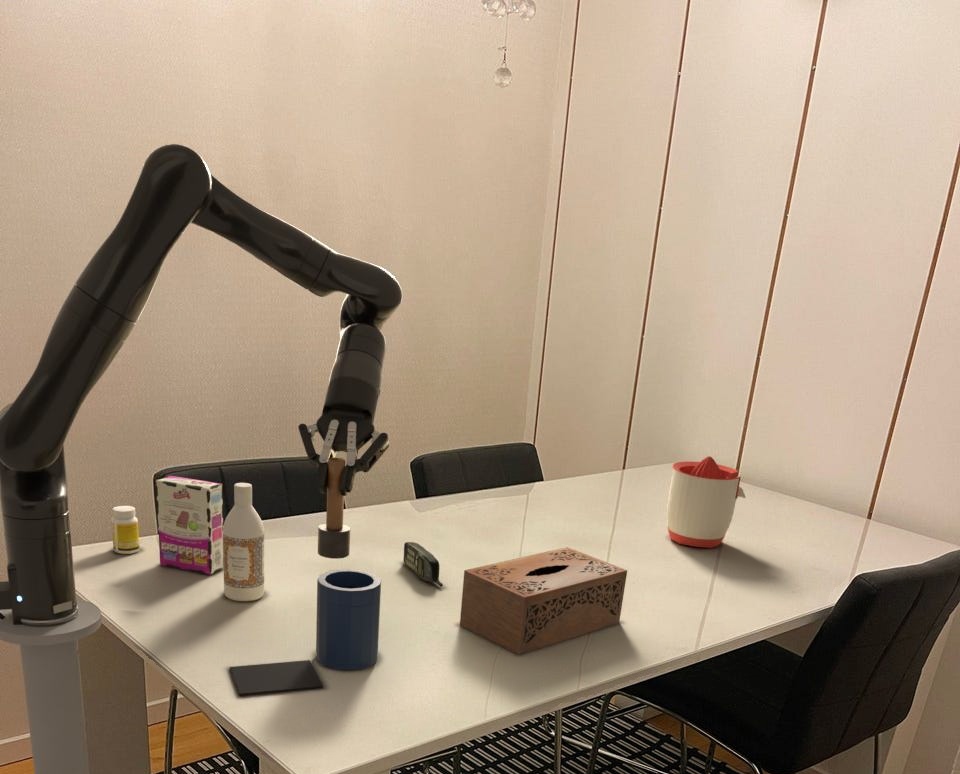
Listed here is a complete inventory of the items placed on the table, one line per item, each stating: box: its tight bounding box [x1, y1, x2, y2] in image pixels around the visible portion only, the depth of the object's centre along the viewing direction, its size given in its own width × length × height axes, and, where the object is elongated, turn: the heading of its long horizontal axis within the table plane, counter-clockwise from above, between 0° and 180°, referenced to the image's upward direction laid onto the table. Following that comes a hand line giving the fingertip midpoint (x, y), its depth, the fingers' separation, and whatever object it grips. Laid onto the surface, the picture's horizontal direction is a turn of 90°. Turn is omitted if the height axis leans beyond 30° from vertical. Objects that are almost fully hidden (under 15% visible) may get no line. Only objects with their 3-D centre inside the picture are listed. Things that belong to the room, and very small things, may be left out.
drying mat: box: [229, 659, 324, 697], centre depth 142 cm, size 12×9×1 cm
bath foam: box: [222, 482, 265, 602], centre depth 167 cm, size 7×7×20 cm
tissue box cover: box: [459, 546, 628, 655], centre depth 169 cm, size 26×14×10 cm, turn 133°
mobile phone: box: [403, 541, 444, 588], centre depth 188 cm, size 5×3×15 cm
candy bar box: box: [155, 475, 224, 576], centre depth 179 cm, size 11×5×16 cm, turn 73°
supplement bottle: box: [111, 505, 140, 555], centre depth 186 cm, size 5×5×8 cm
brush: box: [317, 457, 351, 560], centre depth 139 cm, size 5×5×14 cm
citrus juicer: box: [666, 456, 747, 549], centre depth 222 cm, size 16×17×20 cm
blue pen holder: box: [315, 568, 382, 672], centre depth 148 cm, size 9×9×13 cm
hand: (332, 491), depth 136 cm, fingers closed on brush, 2 cm apart
